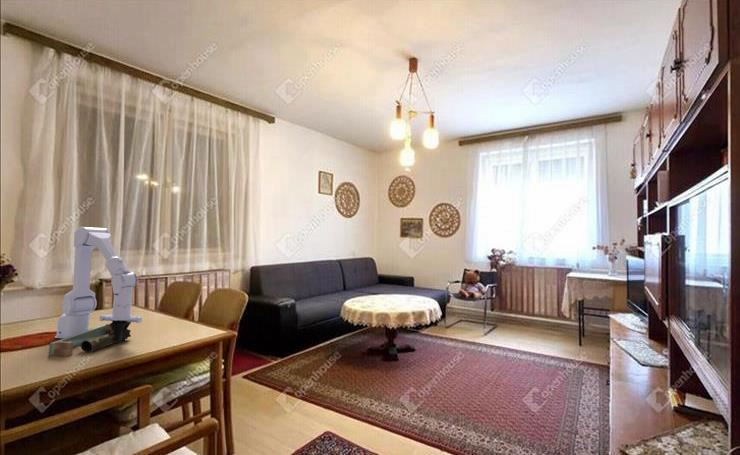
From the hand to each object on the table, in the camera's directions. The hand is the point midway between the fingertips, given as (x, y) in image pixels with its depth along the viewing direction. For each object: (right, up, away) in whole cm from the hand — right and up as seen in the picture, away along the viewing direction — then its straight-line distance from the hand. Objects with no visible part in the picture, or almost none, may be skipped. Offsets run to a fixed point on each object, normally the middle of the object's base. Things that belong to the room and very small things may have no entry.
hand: (119, 340), depth 136 cm
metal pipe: (-5, -2, 0) cm, 5 cm away
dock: (-11, -1, -1) cm, 11 cm away
